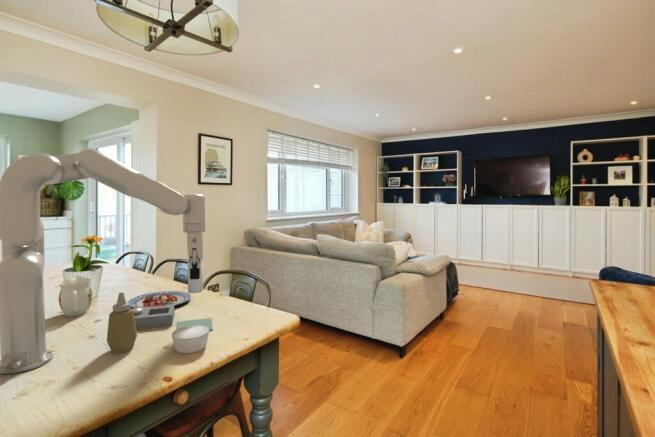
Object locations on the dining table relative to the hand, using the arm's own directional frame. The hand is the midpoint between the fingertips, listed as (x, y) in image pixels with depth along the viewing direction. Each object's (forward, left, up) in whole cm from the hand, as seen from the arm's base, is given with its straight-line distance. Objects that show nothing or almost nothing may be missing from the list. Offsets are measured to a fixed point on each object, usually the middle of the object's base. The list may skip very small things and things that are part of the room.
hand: (195, 276), depth 124 cm
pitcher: (+29, +45, -19) cm, 57 cm away
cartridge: (0, 0, -5) cm, 5 cm away
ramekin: (-18, +1, -19) cm, 26 cm away
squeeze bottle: (-13, +21, -19) cm, 31 cm away
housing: (+10, +16, -19) cm, 27 cm away
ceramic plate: (+35, +15, -19) cm, 43 cm away
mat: (0, 0, -19) cm, 19 cm away
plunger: (+10, +21, -18) cm, 29 cm away
